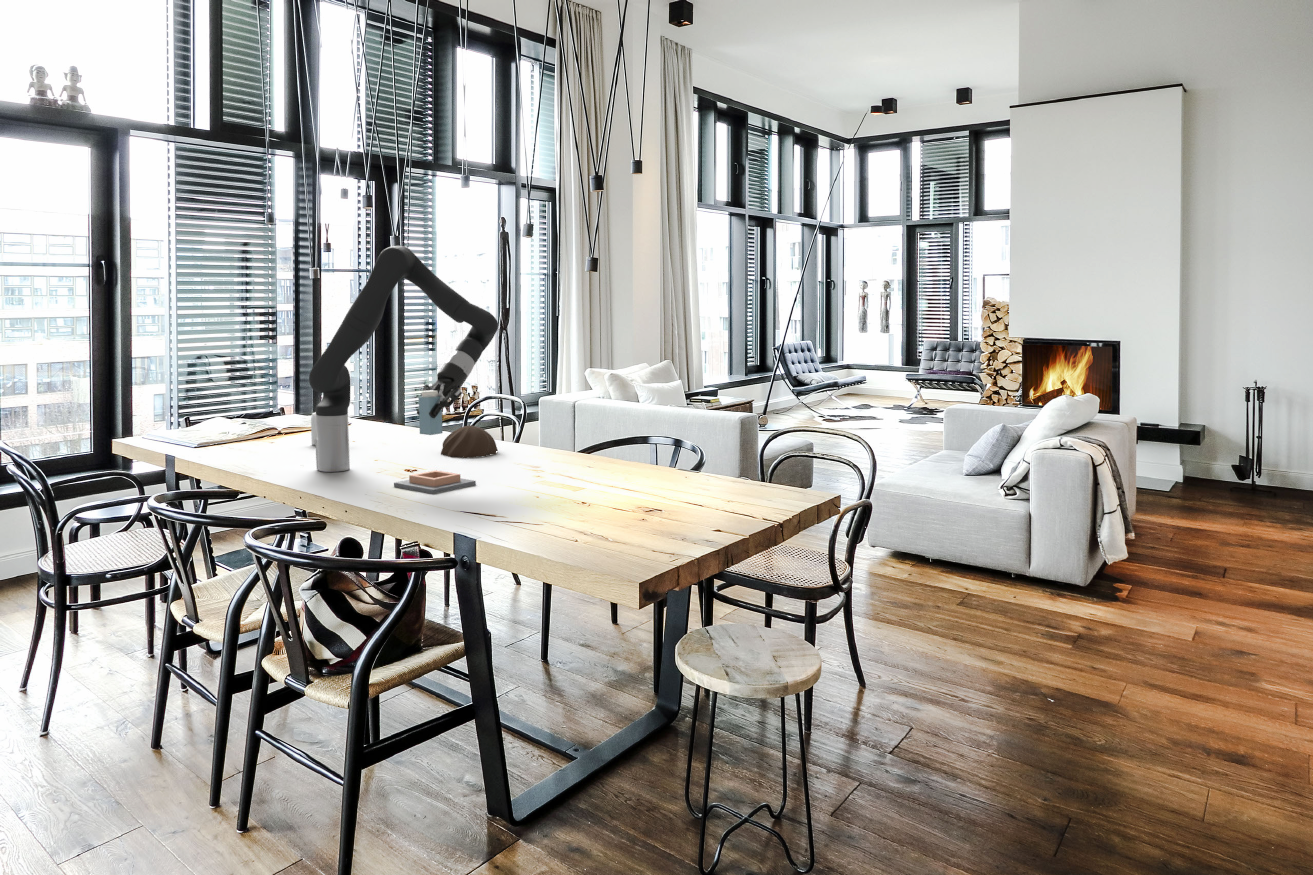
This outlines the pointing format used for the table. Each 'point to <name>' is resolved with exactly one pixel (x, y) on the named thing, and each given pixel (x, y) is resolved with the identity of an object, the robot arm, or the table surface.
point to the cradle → (434, 482)
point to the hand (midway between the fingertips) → (425, 415)
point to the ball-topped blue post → (425, 420)
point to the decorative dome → (469, 443)
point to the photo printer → (313, 428)
